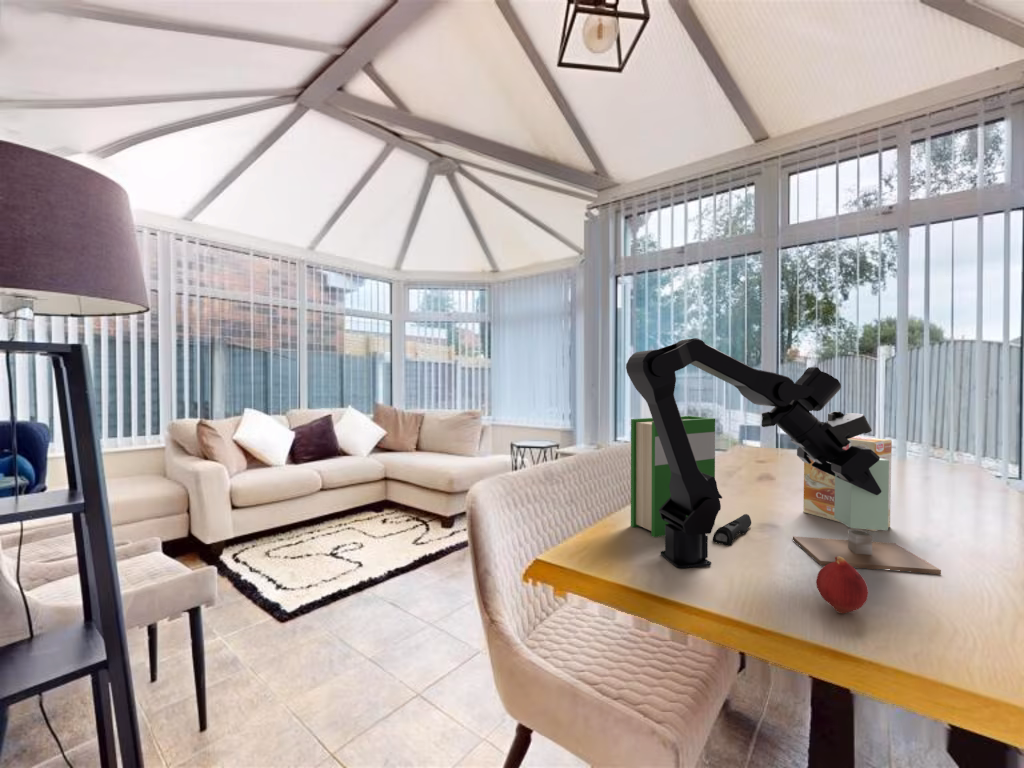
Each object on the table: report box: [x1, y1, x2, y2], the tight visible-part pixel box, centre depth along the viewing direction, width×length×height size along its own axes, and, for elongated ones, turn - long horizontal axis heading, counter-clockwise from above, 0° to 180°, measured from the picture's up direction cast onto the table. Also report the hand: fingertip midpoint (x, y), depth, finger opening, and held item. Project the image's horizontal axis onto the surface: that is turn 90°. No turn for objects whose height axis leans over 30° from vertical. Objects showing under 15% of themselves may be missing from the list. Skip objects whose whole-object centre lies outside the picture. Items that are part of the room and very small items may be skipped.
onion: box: [815, 556, 869, 614], centre depth 62 cm, size 6×6×8 cm
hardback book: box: [630, 415, 716, 538], centre depth 98 cm, size 18×7×24 cm, turn 115°
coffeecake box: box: [802, 435, 893, 532], centre depth 102 cm, size 15×7×20 cm, turn 25°
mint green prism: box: [834, 458, 889, 531], centre depth 81 cm, size 6×6×12 cm
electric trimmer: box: [712, 513, 752, 546], centre depth 93 cm, size 4×16×3 cm, turn 134°
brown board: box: [792, 529, 942, 575], centre depth 82 cm, size 18×12×4 cm, turn 78°
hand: (869, 489), depth 81 cm, fingers closed on mint green prism, 6 cm apart
